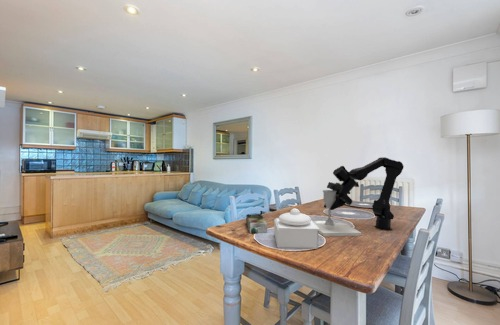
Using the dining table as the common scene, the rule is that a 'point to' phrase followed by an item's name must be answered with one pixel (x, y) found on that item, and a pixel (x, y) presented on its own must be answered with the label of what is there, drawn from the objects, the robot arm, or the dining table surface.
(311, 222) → the butter dish
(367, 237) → the dining table surface
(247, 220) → the juice carton
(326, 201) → the chalice
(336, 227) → the platter
